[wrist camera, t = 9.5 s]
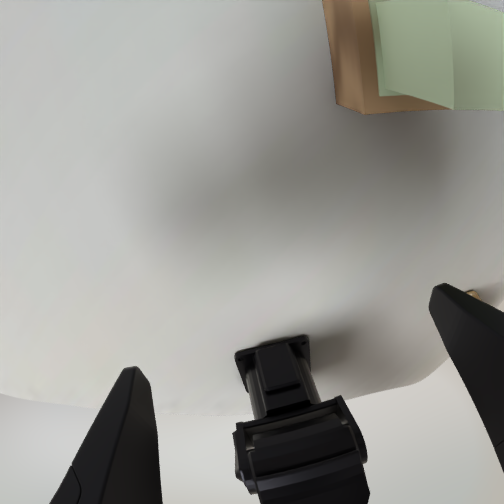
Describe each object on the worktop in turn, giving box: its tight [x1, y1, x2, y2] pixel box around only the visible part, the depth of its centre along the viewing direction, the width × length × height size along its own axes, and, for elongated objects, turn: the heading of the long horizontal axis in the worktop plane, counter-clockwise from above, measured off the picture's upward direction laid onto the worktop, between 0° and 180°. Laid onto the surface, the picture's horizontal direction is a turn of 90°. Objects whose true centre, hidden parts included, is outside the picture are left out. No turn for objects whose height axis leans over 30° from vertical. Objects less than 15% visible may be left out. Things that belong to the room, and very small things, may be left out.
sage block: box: [376, 0, 504, 111], centre depth 10 cm, size 4×4×5 cm
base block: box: [322, 0, 450, 115], centre depth 14 cm, size 7×7×4 cm
